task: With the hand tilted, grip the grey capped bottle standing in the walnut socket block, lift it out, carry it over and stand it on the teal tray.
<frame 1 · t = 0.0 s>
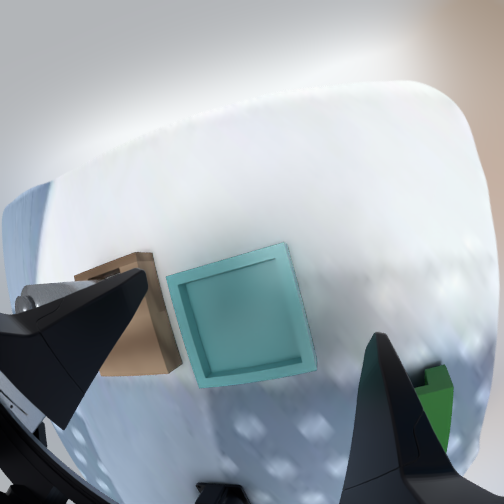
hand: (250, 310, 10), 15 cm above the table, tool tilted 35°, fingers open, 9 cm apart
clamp: (410, 412, 21), on the table
tray: (244, 318, 25), on the table
socket block: (130, 316, 28), on the table
grey capped bottle: (125, 295, 28), resting in socket block
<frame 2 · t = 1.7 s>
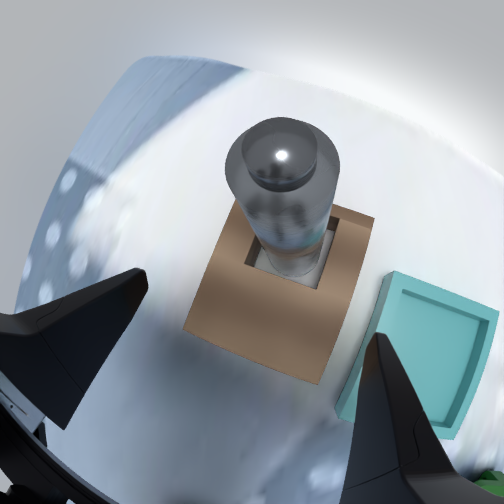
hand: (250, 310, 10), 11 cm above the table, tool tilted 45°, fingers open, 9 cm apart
tray: (420, 361, 17), on the table
socket block: (283, 281, 21), on the table
grey capped bottle: (294, 251, 22), resting in socket block
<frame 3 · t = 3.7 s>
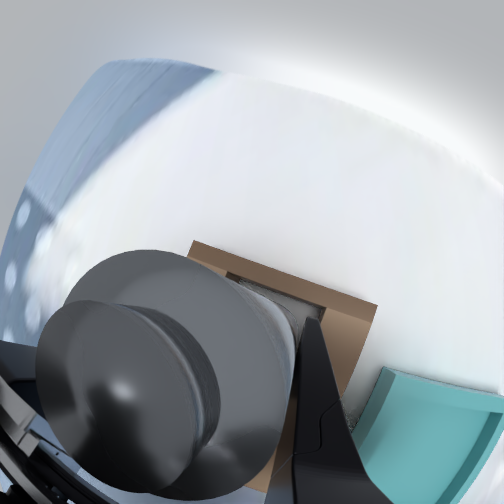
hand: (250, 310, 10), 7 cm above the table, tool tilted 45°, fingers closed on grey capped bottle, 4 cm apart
tray: (414, 456, 12), on the table
socket block: (249, 372, 15), on the table
grey capped bottle: (264, 335, 16), resting in socket block, touching gripper
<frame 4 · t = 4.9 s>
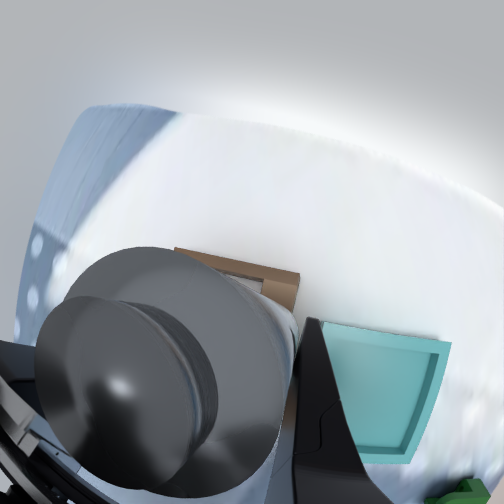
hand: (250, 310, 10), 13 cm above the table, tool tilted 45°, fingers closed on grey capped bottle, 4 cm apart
tray: (367, 395, 19), on the table
socket block: (224, 335, 22), on the table
grey capped bottle: (264, 334, 16), point 6 cm above the table, touching gripper
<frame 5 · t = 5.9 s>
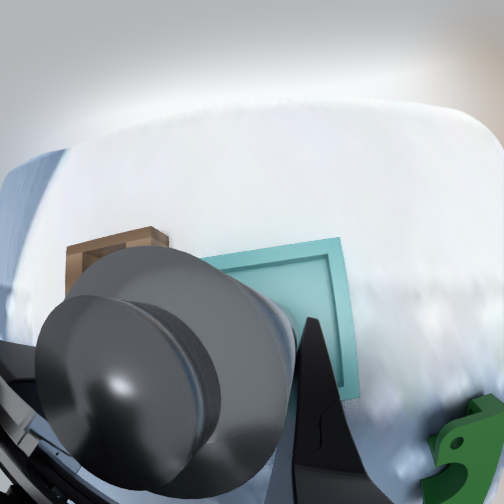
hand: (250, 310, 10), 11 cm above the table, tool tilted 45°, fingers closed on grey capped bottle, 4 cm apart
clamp: (446, 451, 14), on the table
tray: (273, 328, 20), on the table
socket block: (124, 310, 22), on the table
grey capped bottle: (264, 334, 16), point 4 cm above the table, touching gripper
when the fingers open (8 cm above the table, at t = 6.6 s): grey capped bottle stays where it is, resting on tray.
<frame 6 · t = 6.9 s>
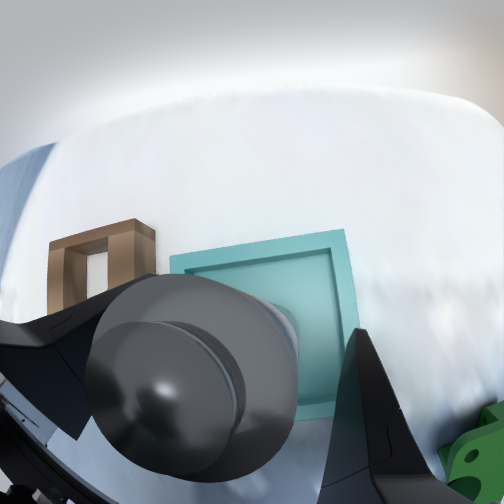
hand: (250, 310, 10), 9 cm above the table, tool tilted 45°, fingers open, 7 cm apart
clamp: (457, 462, 12), on the table
tray: (268, 332, 18), on the table
socket block: (107, 310, 20), on the table
grey capped bottle: (266, 334, 17), point 1 cm above the table, touching tray
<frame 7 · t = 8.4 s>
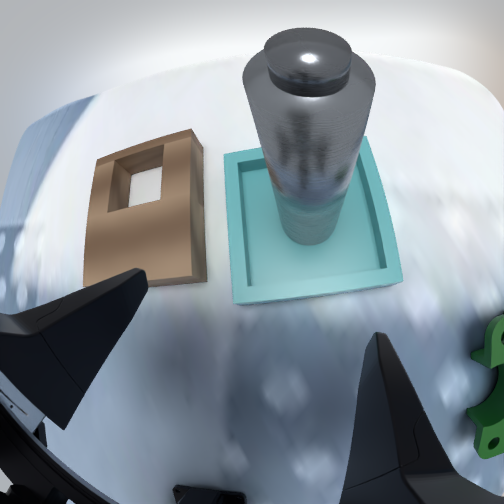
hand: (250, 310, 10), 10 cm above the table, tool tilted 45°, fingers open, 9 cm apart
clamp: (488, 375, 15), on the table
tray: (308, 222, 20), on the table
socket block: (150, 217, 23), on the table
grey capped bottle: (308, 218, 19), point 1 cm above the table, touching tray
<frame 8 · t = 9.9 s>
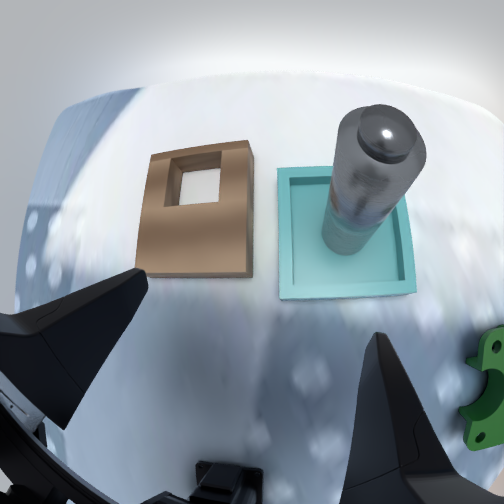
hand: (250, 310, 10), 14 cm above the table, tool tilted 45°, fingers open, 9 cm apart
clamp: (479, 380, 17), on the table
tray: (343, 235, 23), on the table
socket block: (201, 215, 26), on the table
grey capped bottle: (344, 232, 22), point 1 cm above the table, touching tray
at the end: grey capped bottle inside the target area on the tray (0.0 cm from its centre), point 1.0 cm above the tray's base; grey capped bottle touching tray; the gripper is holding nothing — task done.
